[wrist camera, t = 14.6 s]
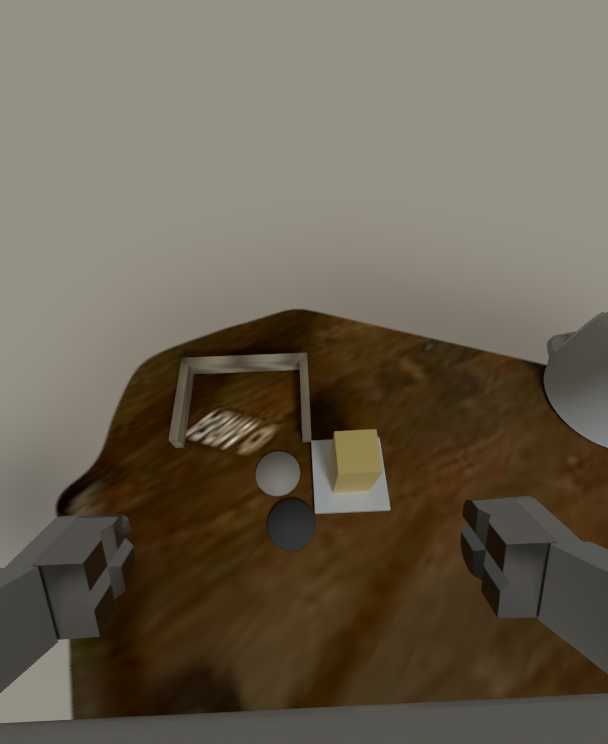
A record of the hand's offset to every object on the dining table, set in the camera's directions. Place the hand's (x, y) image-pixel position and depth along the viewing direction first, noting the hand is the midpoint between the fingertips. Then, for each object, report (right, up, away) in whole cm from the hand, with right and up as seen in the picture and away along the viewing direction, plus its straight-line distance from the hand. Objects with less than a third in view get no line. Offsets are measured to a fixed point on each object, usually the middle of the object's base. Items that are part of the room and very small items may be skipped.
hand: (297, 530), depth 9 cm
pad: (+5, -8, +32) cm, 33 cm away
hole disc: (-1, -12, +29) cm, 32 cm away
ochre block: (+5, -8, +31) cm, 32 cm away
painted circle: (-3, -8, +32) cm, 33 cm away
